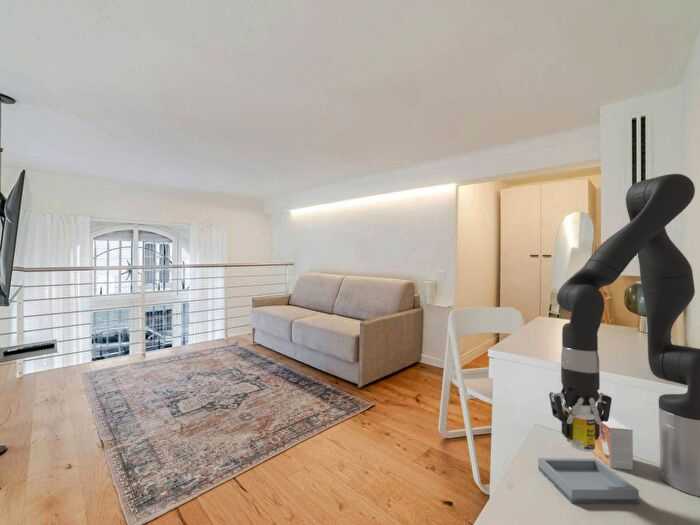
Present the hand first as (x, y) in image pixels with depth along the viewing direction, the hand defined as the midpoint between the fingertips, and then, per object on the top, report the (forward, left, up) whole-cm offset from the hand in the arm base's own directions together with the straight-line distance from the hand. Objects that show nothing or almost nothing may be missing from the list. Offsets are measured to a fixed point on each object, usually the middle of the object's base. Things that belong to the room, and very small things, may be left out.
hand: (580, 437), depth 76 cm
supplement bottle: (0, 0, -2) cm, 2 cm away
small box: (-17, -11, -12) cm, 23 cm away
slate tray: (-1, 0, -11) cm, 11 cm away
